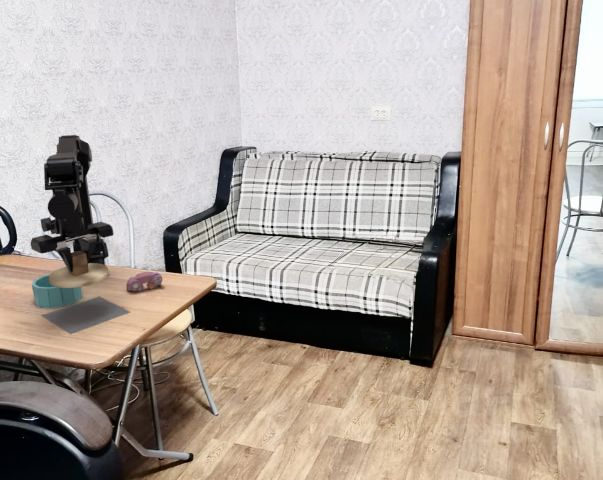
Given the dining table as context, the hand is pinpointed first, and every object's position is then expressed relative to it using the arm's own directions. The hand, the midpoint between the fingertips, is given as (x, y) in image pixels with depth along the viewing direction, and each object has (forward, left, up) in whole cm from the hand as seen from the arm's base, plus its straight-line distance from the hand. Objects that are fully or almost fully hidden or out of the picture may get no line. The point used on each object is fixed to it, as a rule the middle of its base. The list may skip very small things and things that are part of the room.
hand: (78, 269), depth 145 cm
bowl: (0, -14, -12) cm, 19 cm away
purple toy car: (-19, -2, -13) cm, 23 cm away
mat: (0, +1, -12) cm, 12 cm away
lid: (0, 0, -2) cm, 2 cm away
